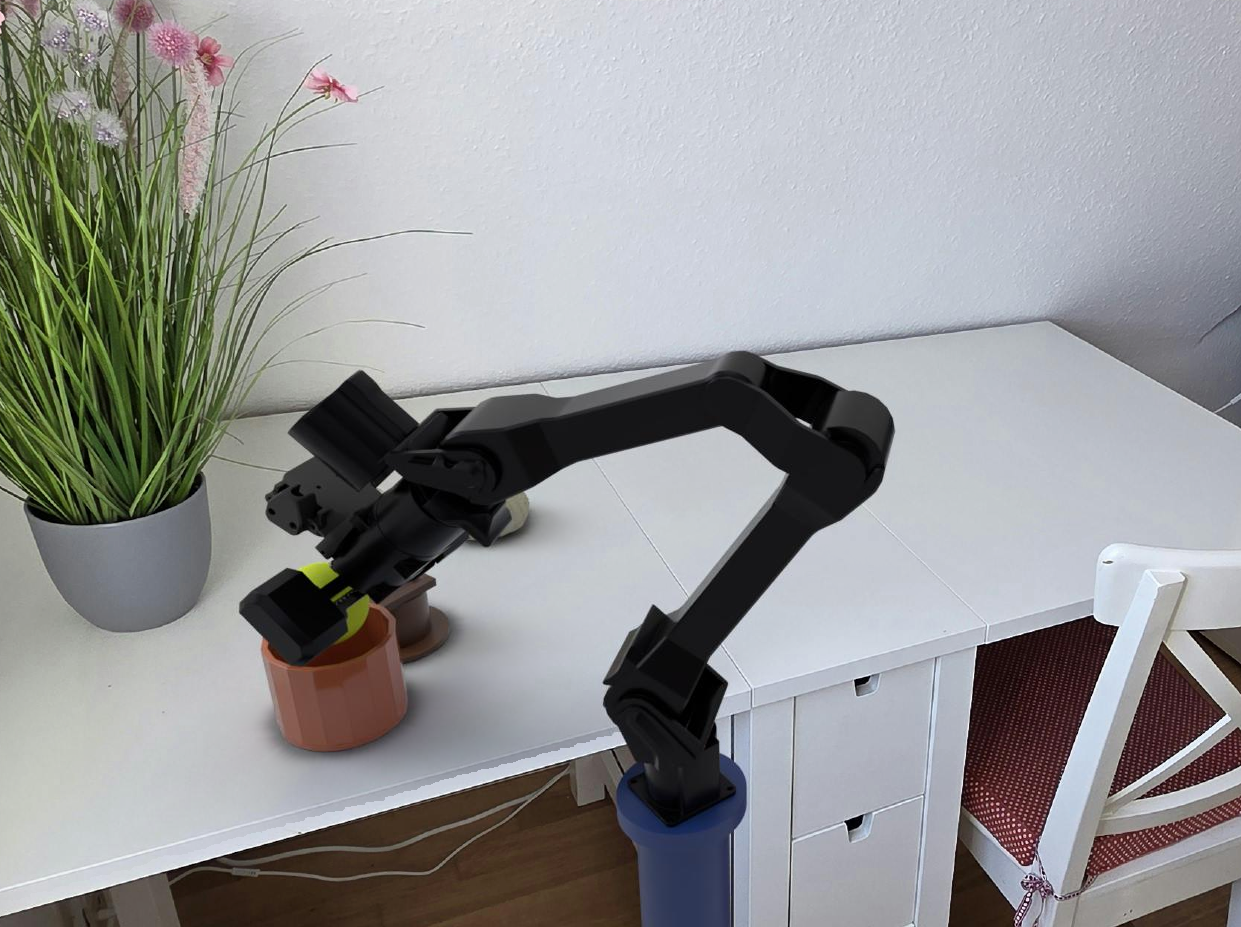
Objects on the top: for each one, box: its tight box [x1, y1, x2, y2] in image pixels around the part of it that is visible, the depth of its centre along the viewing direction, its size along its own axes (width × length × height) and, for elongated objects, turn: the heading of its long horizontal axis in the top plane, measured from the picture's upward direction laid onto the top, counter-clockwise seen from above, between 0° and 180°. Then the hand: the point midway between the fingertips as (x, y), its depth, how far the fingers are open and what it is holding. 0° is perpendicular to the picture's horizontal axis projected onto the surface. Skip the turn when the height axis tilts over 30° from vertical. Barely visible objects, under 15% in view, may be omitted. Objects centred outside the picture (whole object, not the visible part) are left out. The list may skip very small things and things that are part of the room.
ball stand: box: [369, 573, 451, 664], centre depth 109 cm, size 9×9×6 cm
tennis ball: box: [297, 561, 369, 645], centre depth 96 cm, size 7×7×7 cm
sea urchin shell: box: [468, 491, 530, 541], centre depth 128 cm, size 9×8×8 cm
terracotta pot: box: [260, 602, 409, 752], centre depth 99 cm, size 10×10×8 cm
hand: (312, 615), depth 97 cm, fingers closed on tennis ball, 6 cm apart
